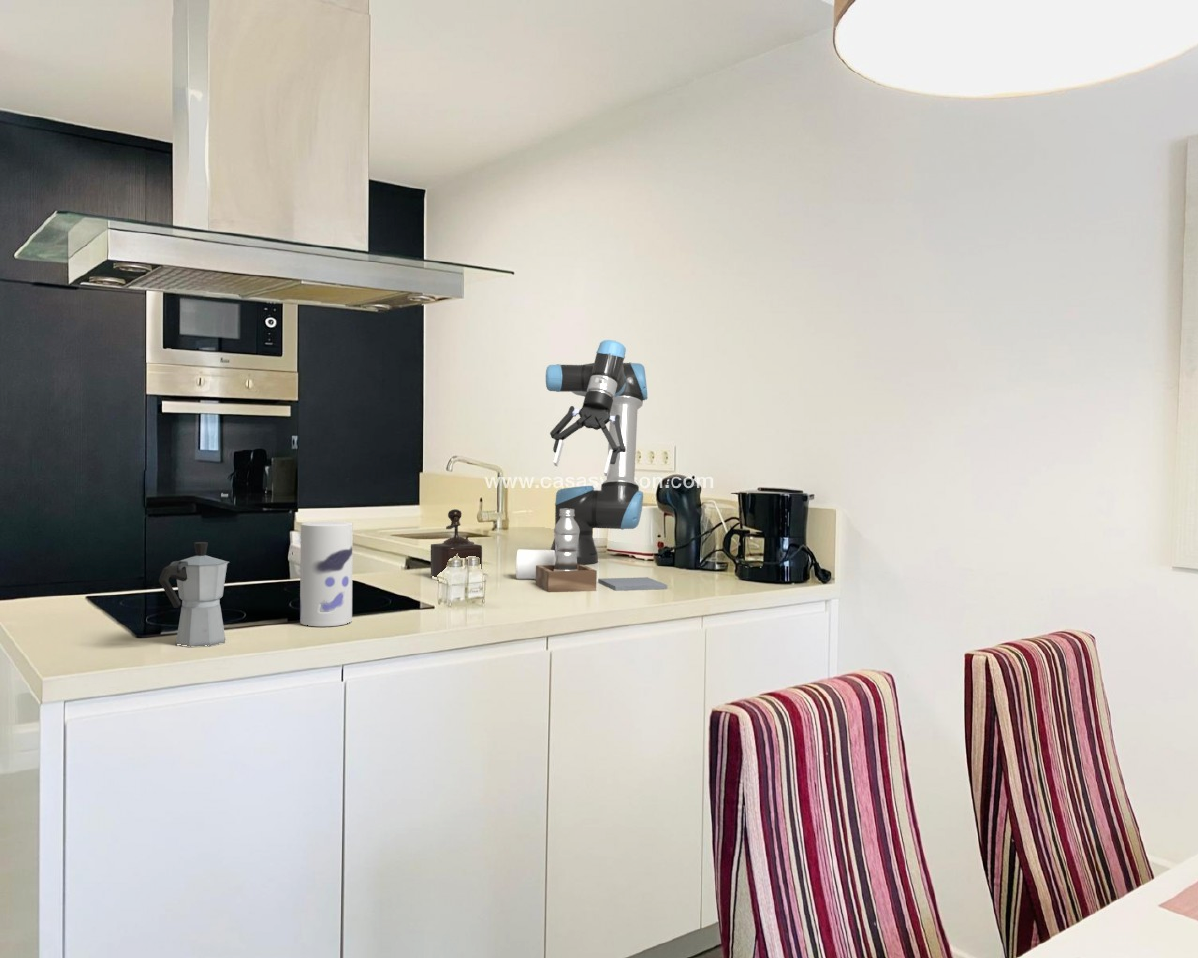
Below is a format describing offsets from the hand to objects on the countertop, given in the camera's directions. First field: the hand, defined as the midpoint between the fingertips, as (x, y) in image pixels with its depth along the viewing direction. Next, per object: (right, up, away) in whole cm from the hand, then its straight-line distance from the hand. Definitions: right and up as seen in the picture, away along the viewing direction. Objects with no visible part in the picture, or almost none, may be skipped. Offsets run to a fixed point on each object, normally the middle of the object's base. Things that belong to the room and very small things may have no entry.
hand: (580, 469), depth 252 cm
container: (-50, -31, -58) cm, 82 cm away
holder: (-4, -30, -6) cm, 31 cm away
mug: (-12, -30, +10) cm, 34 cm away
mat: (+13, -30, 0) cm, 33 cm away
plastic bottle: (-4, -30, -6) cm, 31 cm away
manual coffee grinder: (-34, -29, +7) cm, 46 cm away
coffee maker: (-67, -32, -79) cm, 108 cm away
